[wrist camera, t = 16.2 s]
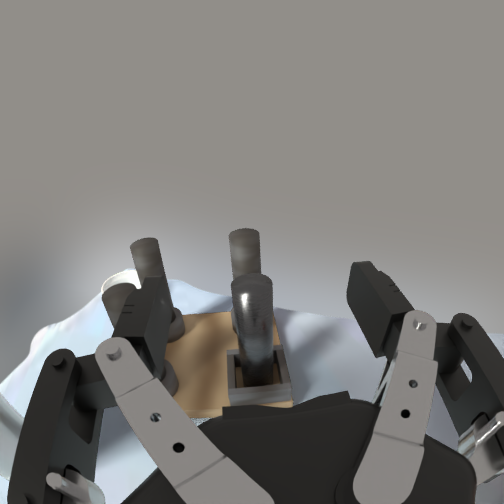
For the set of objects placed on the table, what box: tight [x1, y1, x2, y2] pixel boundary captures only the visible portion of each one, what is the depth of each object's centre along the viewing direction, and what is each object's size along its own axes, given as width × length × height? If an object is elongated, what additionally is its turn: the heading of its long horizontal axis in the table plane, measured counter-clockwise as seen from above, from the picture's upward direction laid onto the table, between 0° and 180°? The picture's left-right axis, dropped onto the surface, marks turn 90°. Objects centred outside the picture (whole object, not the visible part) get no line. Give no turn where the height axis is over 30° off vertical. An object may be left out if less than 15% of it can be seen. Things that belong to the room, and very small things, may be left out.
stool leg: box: [231, 273, 273, 388], centre depth 28 cm, size 4×4×14 cm
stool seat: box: [102, 228, 293, 418], centre depth 32 cm, size 19×17×16 cm
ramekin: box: [101, 270, 141, 293], centre depth 48 cm, size 9×9×4 cm
